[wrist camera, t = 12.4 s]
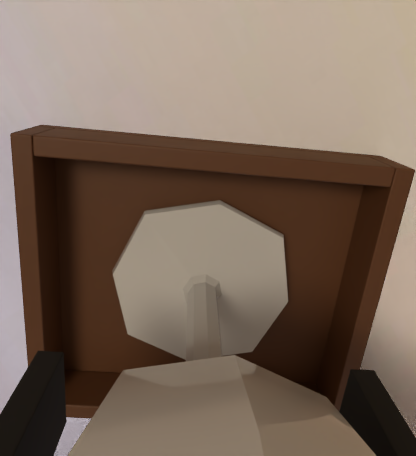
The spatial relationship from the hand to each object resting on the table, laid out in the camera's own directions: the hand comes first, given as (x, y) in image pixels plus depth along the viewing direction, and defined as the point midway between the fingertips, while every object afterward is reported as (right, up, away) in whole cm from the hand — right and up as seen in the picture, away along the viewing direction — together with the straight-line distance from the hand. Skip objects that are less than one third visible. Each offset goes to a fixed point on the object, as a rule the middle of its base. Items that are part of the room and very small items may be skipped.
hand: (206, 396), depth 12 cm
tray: (0, +3, +8) cm, 8 cm away
